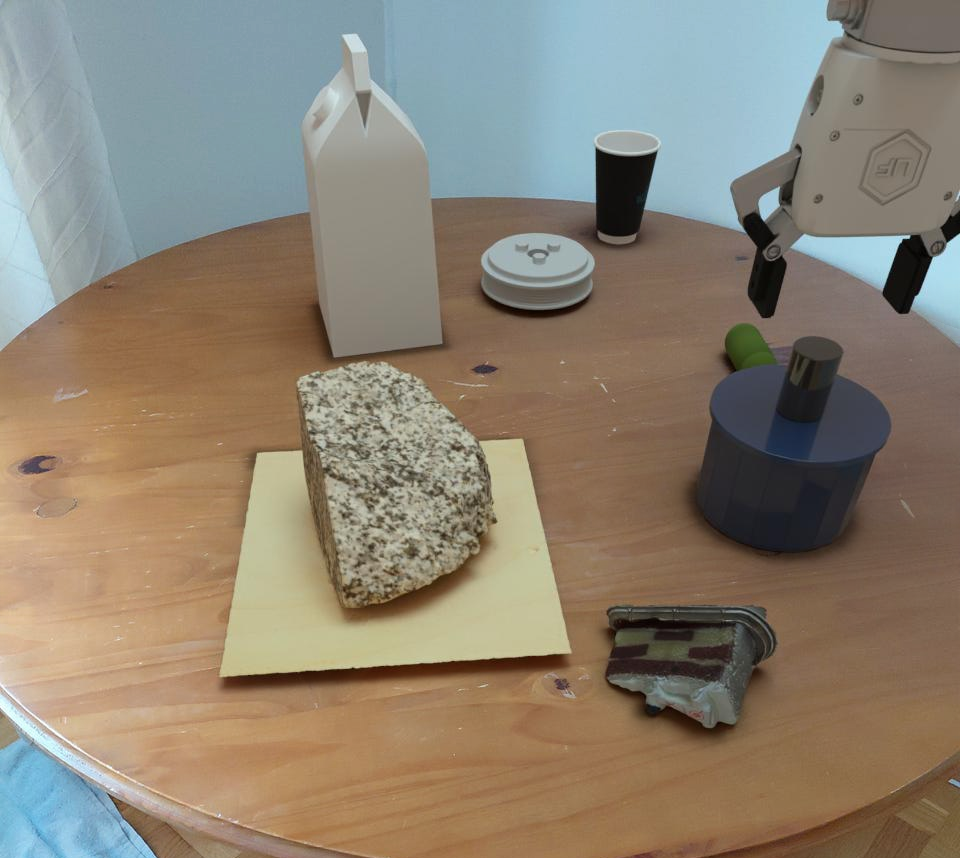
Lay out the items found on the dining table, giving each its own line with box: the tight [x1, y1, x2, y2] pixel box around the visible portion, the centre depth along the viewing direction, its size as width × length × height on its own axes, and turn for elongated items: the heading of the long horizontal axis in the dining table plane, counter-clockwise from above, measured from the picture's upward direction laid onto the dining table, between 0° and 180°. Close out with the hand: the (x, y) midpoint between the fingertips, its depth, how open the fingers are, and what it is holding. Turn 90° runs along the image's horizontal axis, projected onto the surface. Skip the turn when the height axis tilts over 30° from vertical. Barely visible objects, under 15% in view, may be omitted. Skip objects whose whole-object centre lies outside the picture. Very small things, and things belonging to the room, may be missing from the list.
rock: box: [218, 360, 573, 678], centre depth 70 cm, size 28×22×16 cm
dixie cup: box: [592, 129, 662, 245], centre depth 108 cm, size 8×8×11 cm
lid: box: [480, 232, 596, 311], centre depth 100 cm, size 13×13×5 cm
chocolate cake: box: [604, 603, 779, 729], centre depth 60 cm, size 10×7×12 cm
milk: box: [301, 33, 444, 359], centre depth 87 cm, size 12×12×26 cm
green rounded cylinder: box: [724, 322, 778, 372], centre depth 88 cm, size 9×4×4 cm, turn 5°
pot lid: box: [708, 335, 892, 468], centre depth 67 cm, size 14×14×6 cm
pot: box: [695, 420, 877, 553], centre depth 72 cm, size 13×13×8 cm
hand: (828, 307), depth 62 cm, fingers open, 9 cm apart
